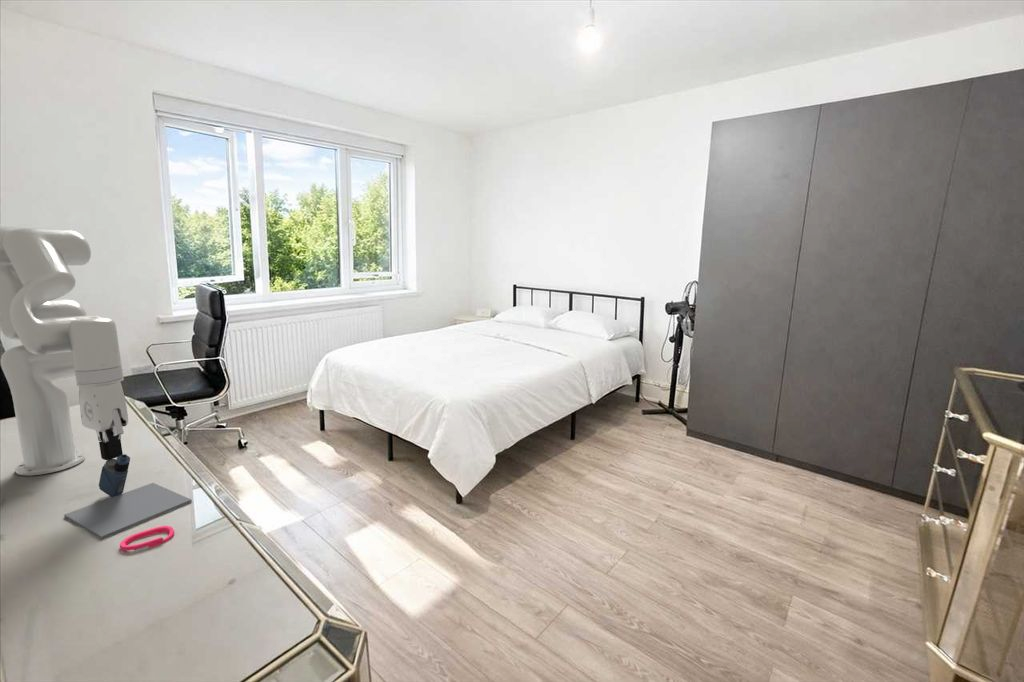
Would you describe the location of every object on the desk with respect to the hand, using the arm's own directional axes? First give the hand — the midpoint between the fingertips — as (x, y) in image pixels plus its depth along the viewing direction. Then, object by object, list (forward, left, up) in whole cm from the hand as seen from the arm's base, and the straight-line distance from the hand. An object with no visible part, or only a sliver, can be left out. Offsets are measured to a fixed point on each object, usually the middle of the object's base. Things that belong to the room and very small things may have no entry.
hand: (112, 457), depth 101 cm
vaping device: (-3, 0, -9) cm, 9 cm away
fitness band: (+24, -5, -10) cm, 26 cm away
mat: (+8, -1, -10) cm, 12 cm away
